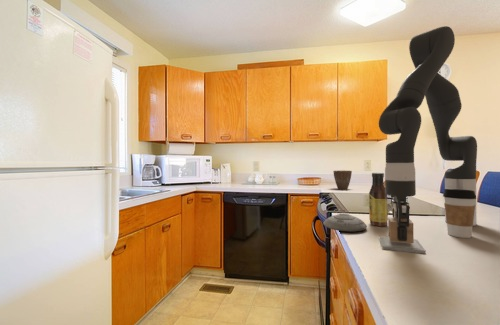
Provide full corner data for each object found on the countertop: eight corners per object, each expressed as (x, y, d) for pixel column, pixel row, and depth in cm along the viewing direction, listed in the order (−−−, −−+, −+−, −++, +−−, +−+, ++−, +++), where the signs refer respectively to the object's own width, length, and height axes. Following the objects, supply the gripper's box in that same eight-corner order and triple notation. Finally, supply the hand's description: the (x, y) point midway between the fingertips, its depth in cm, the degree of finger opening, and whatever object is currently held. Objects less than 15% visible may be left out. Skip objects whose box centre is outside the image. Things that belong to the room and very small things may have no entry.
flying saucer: (348, 237, 82) (348, 220, 82) (314, 227, 95) (314, 212, 94) (376, 230, 89) (375, 214, 89) (341, 221, 102) (341, 208, 102)
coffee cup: (437, 233, 84) (436, 188, 84) (453, 230, 87) (453, 187, 87) (466, 240, 76) (465, 191, 76) (483, 237, 79) (482, 189, 79)
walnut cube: (388, 235, 76) (388, 217, 76) (409, 237, 74) (409, 218, 74) (390, 240, 71) (390, 221, 71) (413, 243, 69) (413, 223, 68)
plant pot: (353, 190, 205) (353, 171, 205) (334, 190, 209) (334, 171, 209) (350, 188, 220) (350, 170, 220) (332, 188, 223) (332, 170, 223)
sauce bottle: (371, 221, 100) (371, 172, 100) (389, 224, 96) (388, 172, 96) (367, 225, 95) (366, 172, 95) (385, 227, 91) (385, 173, 91)
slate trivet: (379, 238, 79) (379, 235, 79) (417, 242, 75) (417, 239, 75) (382, 249, 70) (382, 245, 70) (425, 253, 66) (425, 250, 66)
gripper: (421, 180, 64) (421, 247, 64) (410, 177, 77) (410, 232, 77) (387, 180, 67) (388, 243, 67) (382, 177, 80) (383, 229, 80)
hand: (400, 237), depth 72 cm, fingers closed on walnut cube, 5 cm apart
